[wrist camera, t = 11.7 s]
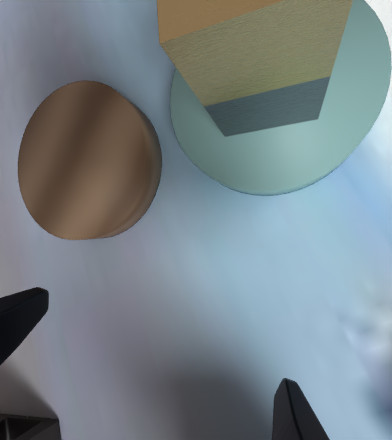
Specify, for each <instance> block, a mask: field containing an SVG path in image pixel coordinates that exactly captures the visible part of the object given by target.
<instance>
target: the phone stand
mask: <svg viewBox="0 0 392 440" xmlns="http://www.w3.org/2000/svg"><path fill="white" fill-rule="evenodd" d="M0 440H61V439H60V431H59V423H58V419H51V418H41V417H30V416H29V417H26V416H19V415H8V414H0Z"/></svg>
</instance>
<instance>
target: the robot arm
mask: <svg viewBox="0 0 392 440" xmlns="http://www.w3.org/2000/svg"><path fill="white" fill-rule="evenodd" d="M48 305H49V293H48V291H47V290H45V289H43V288H40V287H36V288H32V289H29V290H25V291H22V292H19V293H15V294H12V295H9V296H5V297H2V298H0V365H1V364H2V363H3V362H4V361H5V360H6V359H7V358H8V357H9V356H10V355H11V354H12V353H13V352H14V351H15V350H16V348H17V347H18V346H19V345H20V344H21V343H22V341H23V340H24V339H25V338H26V337H27V335H28V334H29V333H30V332H31V331H32V329H33V328H34V327H35V326H36V325H37V323H38V322H39V321H40V320H41V318H42V317H43V316H44V315H45V314H46V312H47V310H48ZM272 440H330V439H329V438H328V436H327V434H326V432H325V431H324V429H323V427H322V425H321V424H320V422H319V420H318V418H317V417H316V415H315V413H314V411H313V410H312V408H311V406H310V404H309V403H308V401H307V399H306V397H305V396H304V394H303V392H302V390H301V389H300V387H299V385H298V384H297V383H296V382H295V381H292V380H290V379H287V378H284V379H283V380H282V381H281V383H280V385H279V387H278V389H277V391H276V393H275V397H274V409H273V429H272Z"/></svg>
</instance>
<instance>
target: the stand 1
mask: <svg viewBox="0 0 392 440" xmlns="http://www.w3.org/2000/svg"><path fill="white" fill-rule="evenodd" d="M161 168H162V156H161V148H160V144H159V140H158V136H157V134H156V131H155V129H154V127H153V125H152V124H151V122H150V120H149V119H148V118H147V117H146V115H145V114H144V113H143V112H142V111H141V110H140V109H139V108H137V107H136V106H135V105H134V104H132V103H131V102H130V101H128V100H127V99H126V98H125V97H123V96H122V95H121V94H120V93H118V92H117V91H116V90H114V89H113V88H111V87H110V86H107V85H105V84H103V83H99V82H95V81H77V82H73V83H70V84H67V85H65V86H63V87H61V88H59V89H57V90H56V91H54V92H53V93H52V94H50V95H49V96H48V97H47V98H46V99H45V100H44V101H43V102H42V103H41V104H40V105H39V107H38V108H37V109H36V111H35V112H34V114H33V115H32V117H31V119H30V121H29V123H28V125H27V127H26V129H25V132H24V134H23V138H22V141H21V145H20V150H19V157H18V179H19V186H20V191H21V194H22V198H23V200H24V203H25V205H26V208H27V209H28V211H29V213H30V215H31V216H32V217H33V219H34V220H35V221H36V222H37V223H38V224H39V225H40V226H41V227H42V228H43V229H44V230H46V231H47V232H48V233H50V234H52V235H54V236H56V237H59V238H62V239H68V240H83V239H97V238H107V237H112V236H115V235H118V234H120V233H122V232H124V231H126V230H128V229H129V228H130V227H132V226H133V225H134V224H135V223H136V222H138V221H139V220H140V219H141V217H142V216H143V215H144V214H145V213H146V211H147V209H148V208H149V206H150V205H151V203H152V201H153V199H154V197H155V194H156V191H157V189H158V186H159V181H160V177H161Z"/></svg>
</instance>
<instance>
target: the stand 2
mask: <svg viewBox="0 0 392 440" xmlns="http://www.w3.org/2000/svg"><path fill="white" fill-rule="evenodd" d="M390 76H391V51H390V47H389V42H388V37H387V35H386V32H385V30H384V27H383V25H382V23H381V21H380V20H379V18H378V16H377V15H376V13H375V12H374V10H373V9H372V8H371V7H370V6H369V5H368V4H367V3H366V2H365V1H364V0H353V2H352V6H351V9H350V13H349V16H348V19H347V23H346V26H345V30H344V33H343V36H342V40H341V43H340V47H339V50H338V53H337V57H336V60H335V64H334V67H333V70H332V74H331V77H330V81H329V84H328V87H327V91H326V94H325V98H324V101H323V104H322V108H321V111H320V115H319V118H318V119H317V120H312V121H306V122H301V123H296V124H291V125H285V126H280V127H275V128H270V129H264V130H259V131H254V132H249V133H243V134H238V135H233V136H228V137H225V136H224V135H223V133H222V132H221V131H220V129H219V128H218V126H217V125H216V123H215V122H214V121H213V119H212V118H211V116H210V115H209V113H208V112H207V111H206V109H205V108H204V106H203V105H202V104H201V102H200V101H199V99H198V98H197V96H196V95H195V94H194V92H193V91H192V89H191V88H190V86H189V85H188V84H187V82H186V81H185V79H184V78H183V76H182V75H181V74H180V72H179V71H178V69H177V68H176V70H175V73H174V76H173V81H172V86H171V94H170V112H171V120H172V124H173V128H174V132H175V135H176V137H177V139H178V142H179V144H180V146H181V147H182V149H183V151H184V152H185V154H186V155H187V156H188V158H189V159H190V160H191V161H192V163H193V164H194V165H196V166H197V167H198V168H199V169H200V170H201V171H202V172H204V173H205V174H207V175H208V176H210V177H211V178H213V179H214V180H216V181H217V182H219V183H220V184H222V185H224V186H226V187H228V188H230V189H232V190H235V191H238V192H241V193H245V194H250V195H259V196H272V195H281V194H286V193H291V192H294V191H297V190H300V189H303V188H305V187H308V186H310V185H312V184H314V183H316V182H318V181H319V180H321V179H323V178H324V177H326V176H327V175H329V174H330V173H331V172H332V171H334V170H335V169H336V168H337V167H338V166H339V165H340V164H341V163H342V162H343V161H344V160H345V159H346V158H347V157H348V156H349V155H350V154H351V153H352V152H353V151H354V150H355V148H356V147H357V146H358V145H359V144H360V143H361V141H362V140H363V139H364V137H365V136H366V135H367V134H368V132H369V131H370V130H371V128H372V126H373V125H374V123H375V121H376V119H377V118H378V116H379V114H380V111H381V109H382V107H383V104H384V102H385V99H386V96H387V92H388V88H389V85H390Z"/></svg>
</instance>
